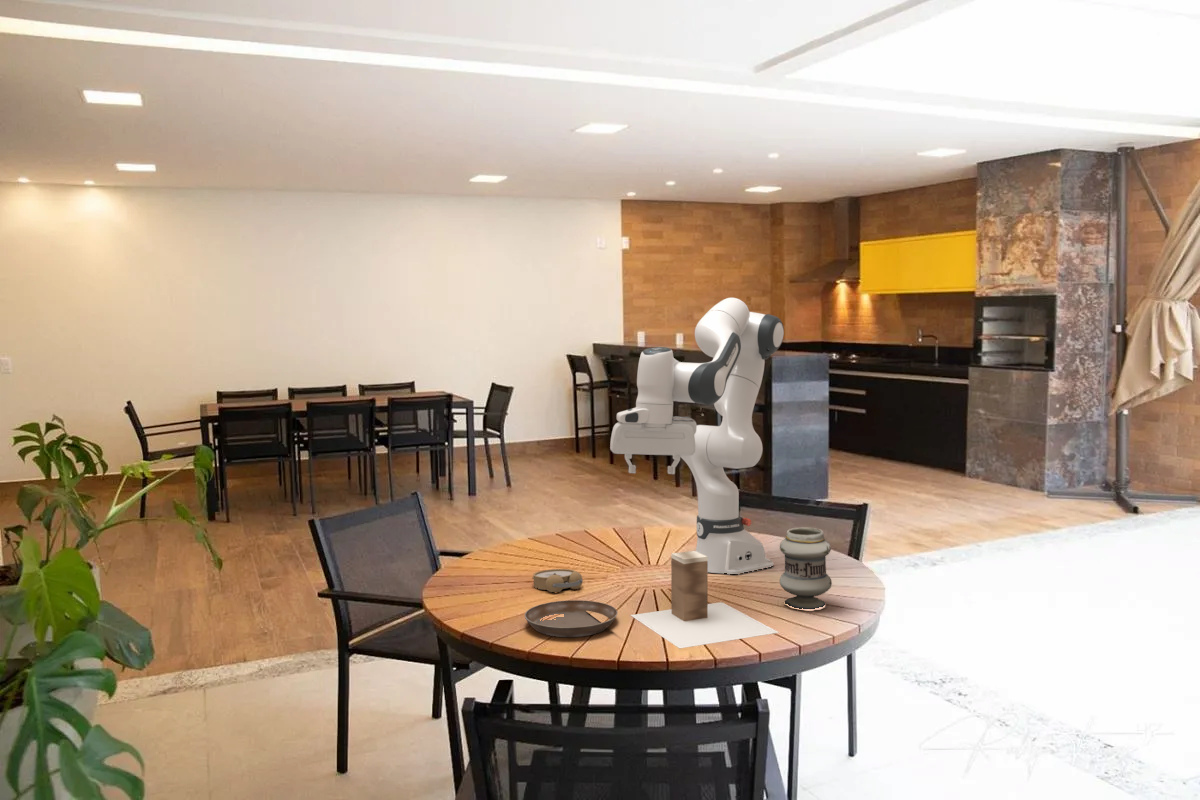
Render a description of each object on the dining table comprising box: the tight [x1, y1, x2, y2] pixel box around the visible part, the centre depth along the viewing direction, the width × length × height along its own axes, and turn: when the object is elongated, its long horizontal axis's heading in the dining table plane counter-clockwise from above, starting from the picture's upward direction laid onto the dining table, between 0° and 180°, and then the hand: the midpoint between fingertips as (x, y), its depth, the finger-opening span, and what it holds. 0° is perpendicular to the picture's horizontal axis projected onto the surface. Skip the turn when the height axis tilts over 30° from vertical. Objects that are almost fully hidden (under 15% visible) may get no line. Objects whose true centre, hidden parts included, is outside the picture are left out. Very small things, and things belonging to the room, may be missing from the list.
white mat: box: [629, 601, 780, 650], centre depth 204 cm, size 24×24×1 cm
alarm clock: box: [531, 568, 584, 593], centre depth 236 cm, size 11×5×15 cm
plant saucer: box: [524, 599, 619, 638], centre depth 206 cm, size 21×21×3 cm
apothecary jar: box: [779, 527, 833, 609], centre depth 219 cm, size 12×12×18 cm
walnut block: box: [670, 550, 709, 621], centre depth 209 cm, size 6×6×14 cm
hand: (651, 473), depth 220 cm, fingers open, 8 cm apart
